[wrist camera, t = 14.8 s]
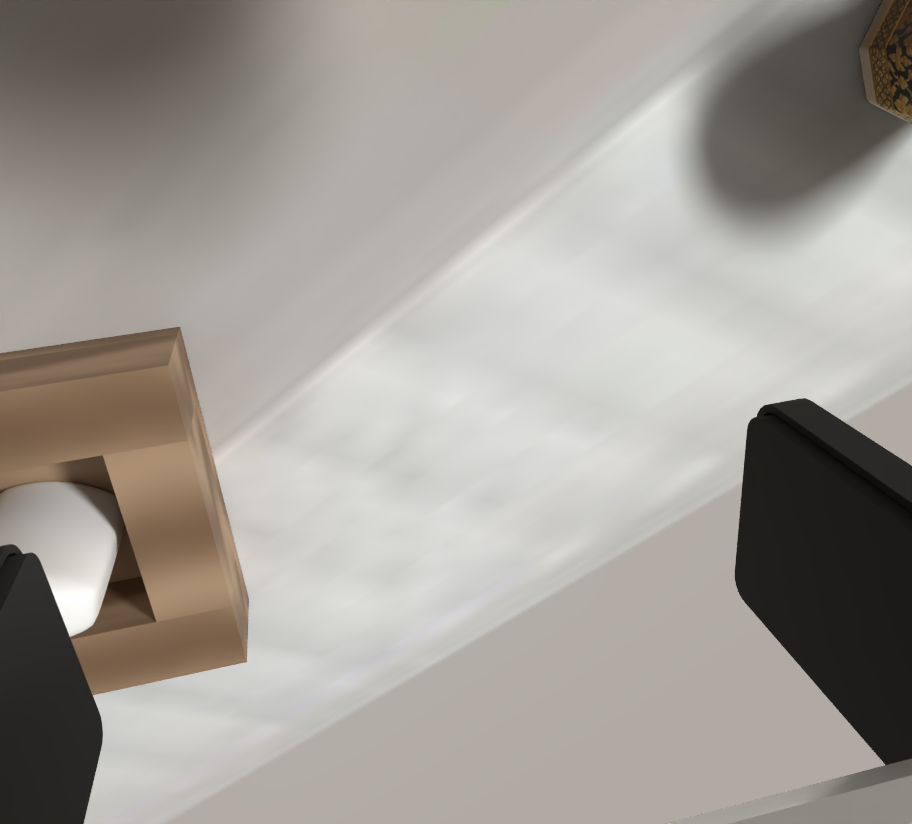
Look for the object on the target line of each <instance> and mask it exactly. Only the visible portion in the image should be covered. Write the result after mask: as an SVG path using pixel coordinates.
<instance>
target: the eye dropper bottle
mask: <svg viewBox="0 0 912 824" xmlns="http://www.w3.org/2000/svg"><path fill="white" fill-rule="evenodd" d="M123 531H124V520H123V517H122V514H121V510H120V507H119V504H118V501H117V498H116V496H115V495H113V494H111V493H109V492H106V491H104V490H101V489H98V488H95V487H92V486H88V485H84V484H79V483H72V482H61V481H47V482H36V483H29V484H23V485H19V486H15V487H12V488H9V489H6V490H5V491H3V492H2V493H0V546H3V545H8V544H13V545H16V546H17V547H18V548H19V549H20V550H21V552H22V554H25V553H31V552H32V553H35V554H36V555H37V557H38V558H39V560H40V562H41V564H42V566H43V569H44V572H45V574H46V577H47V579H48V582H49V585H50V587H51V590H52V592H53V595H54V597H55V600H56V603H57V605H58V608H59V610H60V613H61V615H62V618H63V621H64V623H65V626H66V628H67V631H68V633H69V636H70V637H71V636H74V635H76V634H79V633H81V632H83V631H85V630H87V629H88V628H89V627H91V626H92V625H93V624H94V622H95V620H96V618H97V616H98V614H99V611H100V608H101V605H102V602H103V599H104V596H105V592H106V589H107V586H108V583H109V579H110V576H111V573H112V569H113V566H114V562H115V559H116V556H117V552H118V549H119V546H120V542H121V539H122V535H123Z"/></svg>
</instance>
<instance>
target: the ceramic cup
mask: <svg viewBox="0 0 912 824" xmlns="http://www.w3.org/2000/svg"><path fill="white" fill-rule="evenodd" d="M859 55H860V61H861V68H862V74H863V81H864V87H865V93H866V99H867V101H868V102H870V103H871V104H873V105H875V106H877V107H879V108H881V109H883V110H885V111H887V112H889V113H890V114H892V115H894V116H896V117H898V118H900V119H902V120H905V121H907V122H910V123H912V0H883V1H882V3H881V5H880V7H879V9H878V11H877V13H876V15H875V17H874V19H873V21H872V23H871V25H870V27H869V29H868V31H867V33H866V35H865V37H864V39H863V41H862V43H861V45H860V47H859Z"/></svg>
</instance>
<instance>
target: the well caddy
mask: <svg viewBox="0 0 912 824" xmlns="http://www.w3.org/2000/svg"><path fill="white" fill-rule="evenodd" d="M47 481H61V482H72V483H79V484H84V485H88V486H92V487H95V488H98V489H101V490H104V491H106V492H109V493H111V494H113V495H115V496H116V498H117V501H118V504H119V507H120V510H121V514H122V517H123V520H124V531H123V535H122V539H121V542H120V546H119V549H118V552H117V556H116V559H115V562H114V566H113V569H112V573H111V576H110V579H109V583H108V586H107V589H106V592H105V596H104V599H103V602H102V605H101V608H100V611H99V614H98V616H97V618H96V620H95V622H94V624H93V625H92V626H91V627H89V628H88V629H87V630H85V631H83V632H81V633H79V634H76V635H74V636H71V637H70V639H71V641H72V644H73V646H74V649H75V651H76V654H77V657H78V659H79V662H80V664H81V667H82V669H83V672H84V675H85V677H86V680H87V682H88V685H89V688H90V690H91V693H92V695H96V694H100V693H105V692H110V691H114V690H119V689H124V688H128V687H133V686H137V685H142V684H147V683H151V682H156V681H161V680H165V679H170V678H175V677H179V676H184V675H188V674H193V673H198V672H202V671H207V670H212V669H216V668H221V667H225V666H230V665H235V664H239V663H244V662H247V639H248V607H249V598H248V595H247V591H246V587H245V583H244V579H243V575H242V571H241V567H240V563H239V559H238V555H237V551H236V547H235V543H234V539H233V535H232V531H231V527H230V523H229V519H228V515H227V511H226V507H225V503H224V500H223V496H222V492H221V488H220V484H219V480H218V476H217V472H216V468H215V464H214V460H213V456H212V452H211V448H210V444H209V440H208V436H207V432H206V428H205V424H204V420H203V416H202V412H201V409H200V405H199V401H198V397H197V393H196V389H195V385H194V381H193V377H192V373H191V369H190V365H189V361H188V357H187V353H186V349H185V345H184V341H183V337H182V333H181V329H180V327H176V328H170V329H163V330H156V331H149V332H143V333H136V334H129V335H122V336H116V337H109V338H102V339H95V340H88V341H82V342H75V343H68V344H61V345H55V346H48V347H41V348H34V349H28V350H21V351H14V352H7V353H0V493H2V492H3V491H5V490H6V489H9V488H12V487H15V486H19V485H23V484H29V483H36V482H47Z"/></svg>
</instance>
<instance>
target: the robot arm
mask: <svg viewBox="0 0 912 824" xmlns="http://www.w3.org/2000/svg"><path fill="white" fill-rule="evenodd" d="M735 581H736V586H737V589H738V592H739V594H740V596H741V598H742V599H743V600H744V602H745V603H746V604H747V605H748V606H749V607H750V609H751V610H752V611H753V612H754V613H755V614H756V616H757V617H758V618H759V619H760V620H761V621H762V622H763V624H764V625H765V626H766V627H767V628H768V630H769V631H770V632H771V633H772V634H773V635H774V636H775V638H776V639H777V640H778V641H779V642H780V643H781V645H782V646H783V647H784V648H785V649H786V650H787V651H788V653H789V654H790V655H791V656H792V657H793V658H794V660H795V661H796V662H797V663H798V664H799V665H800V666H801V668H802V669H803V670H804V671H805V672H806V673H807V675H808V676H809V677H810V678H811V679H812V680H813V681H814V683H815V684H816V685H817V686H818V687H819V688H820V690H821V691H822V692H823V693H824V694H825V695H826V696H827V698H828V699H829V700H830V701H831V702H832V703H833V705H834V706H835V707H836V708H837V709H838V710H839V712H840V713H841V714H842V715H843V716H844V717H845V718H846V719H847V721H848V722H849V723H850V724H851V725H852V726H853V728H854V729H855V730H856V731H857V732H858V733H859V734H860V736H861V737H862V738H863V739H864V740H865V742H866V743H867V744H868V745H869V746H870V747H871V748H872V750H874V752H875V753H876V754H877V755H878V757H879V758H880V759H881V760H882V761H883V762H884V764H885V766H881V767H878V768H874V769H870V770H866V771H862V772H859V773H855V774H851V775H847V776H844V777H840V778H836V779H832V780H829V781H825V782H821V783H817V784H813V785H809V786H806V787H802V788H798V789H794V790H791V791H787V792H783V793H779V794H776V795H772V796H768V797H764V798H761V799H756V800H753V801H749V802H745V803H741V804H738V805H734V806H730V807H726V808H722V809H719V810H716V811H712V812H708V813H704V814H700V815H697V816H693V817H689V818H685V819H682V820H678V821H674V822H671V823H667V824H912V466H911V465H910V464H908V463H907V462H905V461H903V460H902V459H900V458H899V457H897V456H896V455H894V454H893V453H891V452H889V451H888V450H886V449H885V448H883V447H882V446H880V445H878V444H877V443H875V442H874V441H872V440H871V439H869V438H867V437H866V436H865V435H863V434H862V433H860V432H858V431H857V430H855V429H854V428H852V427H851V426H849V425H848V424H846V423H845V422H843V421H841V420H840V419H838V418H837V417H835V416H834V415H832V414H831V413H829V412H828V411H826V410H824V409H823V408H821V407H820V406H818V405H817V404H815V403H814V402H812V401H810V400H808V399H805V398H803V399H796V400H791V401H785V402H780V403H774V404H769V405H765V406H763V407H762V408H761V409H760V410H759V412H758V414H757V417H755V418H753V419H751V420H750V422H749V424H748V429H747V438H746V450H745V461H744V473H743V484H742V497H741V508H740V519H739V531H738V542H737V554H736V565H735ZM102 737H103V731H102V722H101V717H100V714H99V711H98V708H97V706H96V703H95V700H94V698H93V695H92V693H91V690H90V688H89V685H88V682H87V680H86V677H85V675H84V672H83V669H82V667H81V664H80V662H79V659H78V657H77V654H76V651H75V649H74V646H73V644H72V641H71V639H70V636H69V633H68V631H67V628H66V626H65V623H64V621H63V618H62V615H61V613H60V610H59V608H58V605H57V603H56V600H55V597H54V595H53V592H52V590H51V587H50V585H49V582H48V579H47V577H46V574H45V572H44V569H43V566H42V564H41V562H40V560H39V558H38V557H37V555H36V554H35V553H32V552H31V553H25V554H22V552H21V550H20V549H19V548H18V547H17V546H16V545H13V544H8V545H3V546H0V824H83V823H84V819H85V815H86V811H87V806H88V802H89V798H90V793H91V789H92V785H93V781H94V776H95V772H96V768H97V764H98V759H99V755H100V751H101V746H102Z"/></svg>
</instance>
